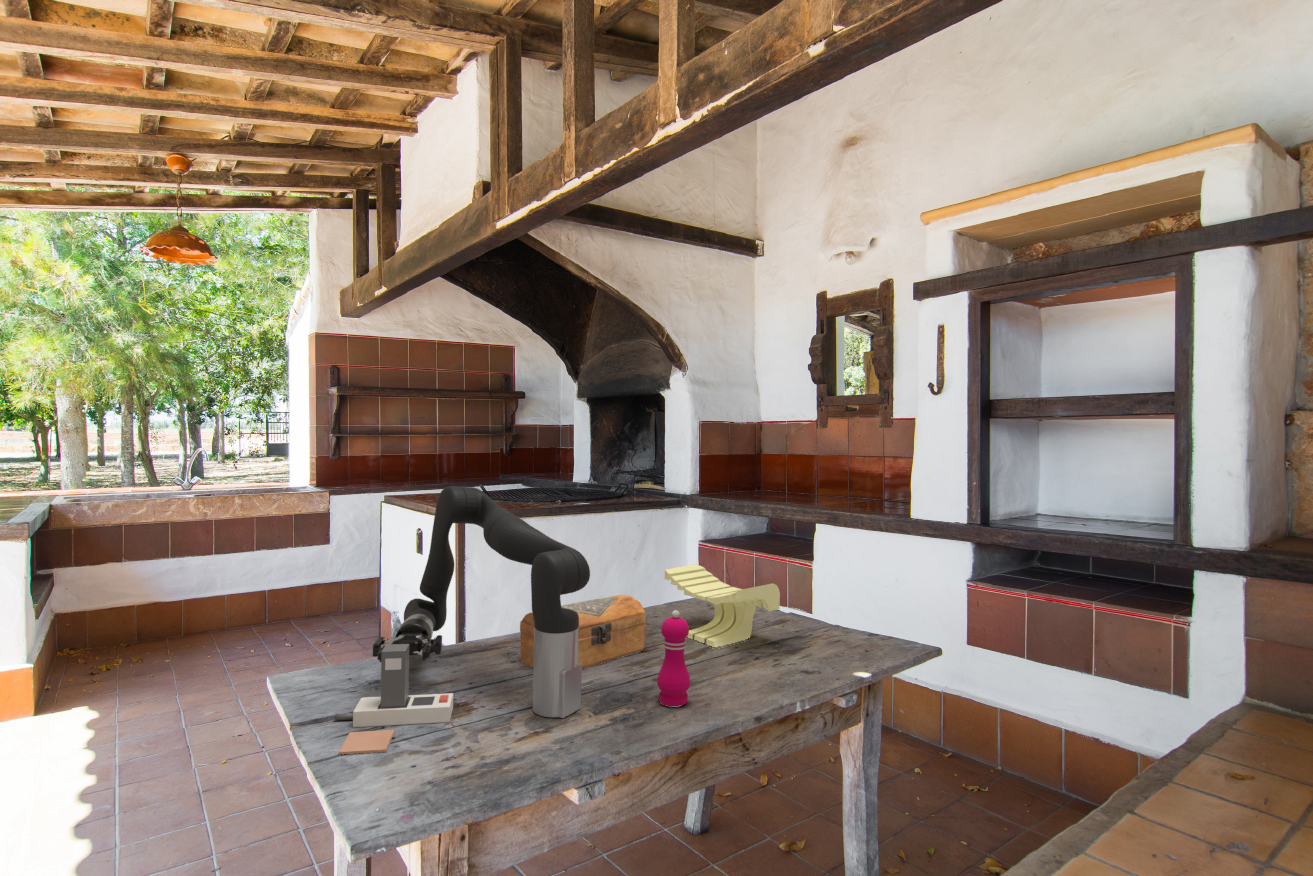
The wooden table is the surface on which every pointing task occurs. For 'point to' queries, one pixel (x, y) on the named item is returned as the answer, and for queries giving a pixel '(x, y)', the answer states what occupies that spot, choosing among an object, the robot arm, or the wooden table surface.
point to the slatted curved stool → (723, 604)
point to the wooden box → (598, 630)
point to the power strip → (401, 711)
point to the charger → (394, 676)
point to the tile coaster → (367, 742)
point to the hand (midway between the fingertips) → (402, 656)
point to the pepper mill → (674, 662)
